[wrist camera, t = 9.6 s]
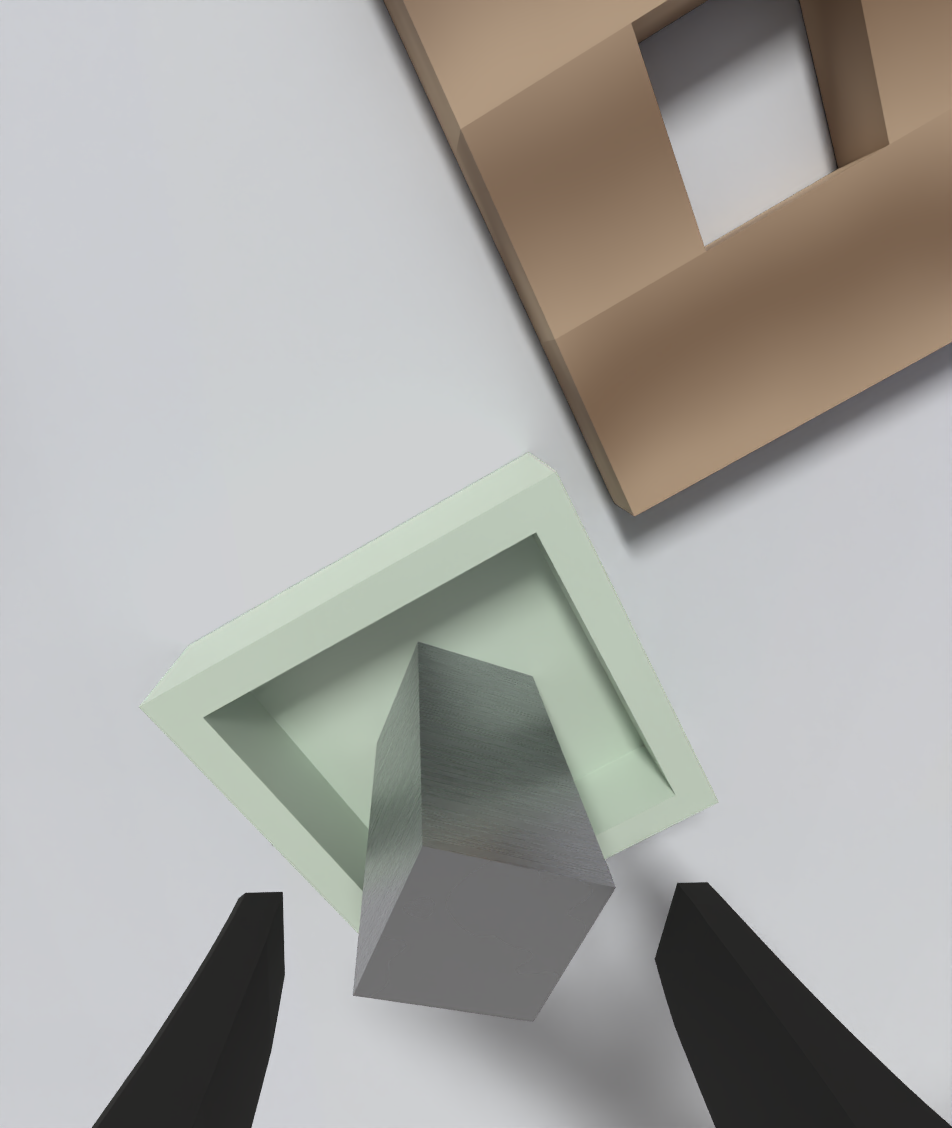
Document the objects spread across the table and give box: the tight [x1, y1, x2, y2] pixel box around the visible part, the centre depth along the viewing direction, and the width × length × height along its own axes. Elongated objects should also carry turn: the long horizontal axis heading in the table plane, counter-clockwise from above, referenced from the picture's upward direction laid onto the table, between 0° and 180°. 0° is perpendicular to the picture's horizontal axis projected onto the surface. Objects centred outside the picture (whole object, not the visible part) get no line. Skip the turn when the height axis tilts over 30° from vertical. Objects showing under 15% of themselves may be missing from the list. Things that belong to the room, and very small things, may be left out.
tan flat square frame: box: [383, 0, 952, 517], centre depth 12 cm, size 14×12×2 cm
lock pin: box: [353, 642, 616, 1021], centre depth 13 cm, size 4×4×7 cm
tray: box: [139, 452, 718, 934], centre depth 15 cm, size 11×11×3 cm
